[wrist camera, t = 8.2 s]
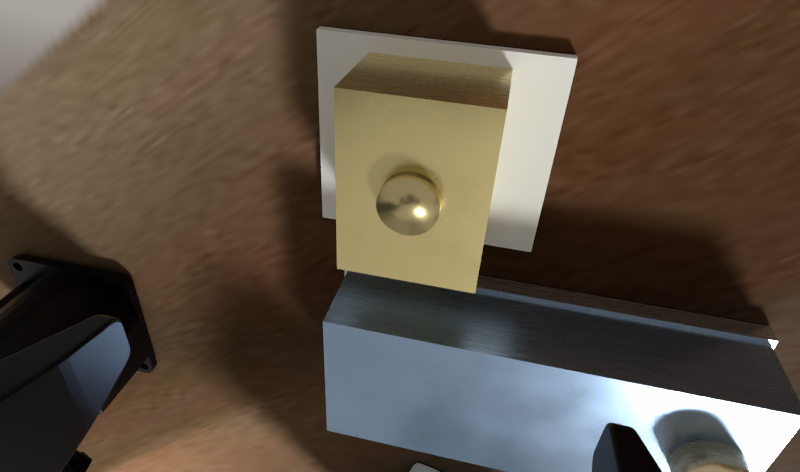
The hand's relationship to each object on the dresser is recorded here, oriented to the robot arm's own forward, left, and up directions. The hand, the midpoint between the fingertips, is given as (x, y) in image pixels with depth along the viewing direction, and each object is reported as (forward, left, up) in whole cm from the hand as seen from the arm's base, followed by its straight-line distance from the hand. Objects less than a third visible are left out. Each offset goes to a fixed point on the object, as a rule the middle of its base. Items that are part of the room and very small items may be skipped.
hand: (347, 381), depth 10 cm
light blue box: (+5, -9, -11) cm, 15 cm away
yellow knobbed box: (0, 0, -10) cm, 10 cm away
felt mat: (0, 0, -11) cm, 11 cm away
